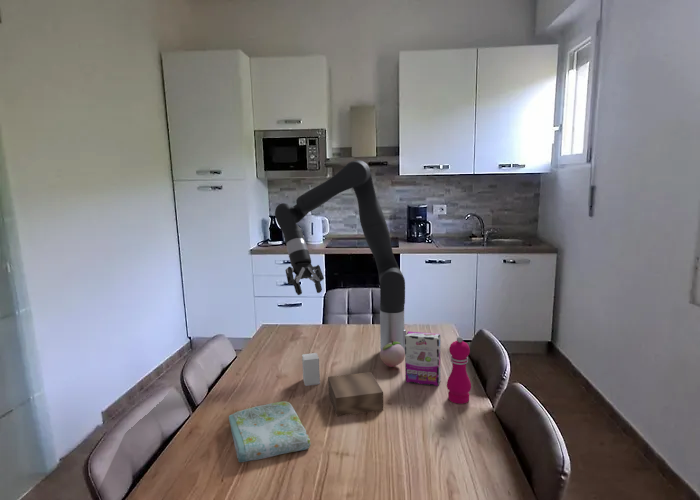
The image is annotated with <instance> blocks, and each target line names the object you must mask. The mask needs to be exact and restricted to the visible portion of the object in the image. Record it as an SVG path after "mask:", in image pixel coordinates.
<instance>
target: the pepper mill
mask: <svg viewBox="0 0 700 500" xmlns="http://www.w3.org/2000/svg"><path fill="white" fill-rule="evenodd" d="M448 350H449V353H450V355H451V356H450V362H451V363H452V368H451V372H450V373H449V375H448V378H447V381H446V387H447V390H448V393H447V395H448V396H447V397H448V400H449V401H450V402H452V403H453V404H459V405H461V404H463V405H464V404H467V403H468V402H469V401H470V391H471V390H472V382H471V380H470V377H469V374H468V373H467V364H468V363H469V357H468V356H469V355H470V353H471V349H470V345H469V344H468V343H467V342H465V341H464V339H463V337H462V336H458V337H456V340H455V341H452V342H451V343H450V345H449V349H448Z"/></svg>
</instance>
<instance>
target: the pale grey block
mask: <svg viewBox="0 0 700 500" xmlns="http://www.w3.org/2000/svg"><path fill="white" fill-rule="evenodd" d="M301 357H302V359H301V361H302V362H301V363H302V364H301V365H302V381H303V384H304V386H305V387H308V386H316V385H320V384H321V376H320V375H321V374H320V372H321V371H320V357H319V355H318V352H313V353H312V352H311V353H304V354H301Z"/></svg>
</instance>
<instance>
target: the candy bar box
mask: <svg viewBox="0 0 700 500" xmlns="http://www.w3.org/2000/svg"><path fill="white" fill-rule="evenodd" d="M441 338H442V337H441V333H436V332H435V333H433V332H419V331H406V335H405V357H404V360H405V363H404V364H405V374H404V375H405V376H404V377H405V383H409V384H415V385H424V386H435V387H439V385H440V382H441V377H442V375H441V373H442V372H441V365H442V364H441V350H442V349H441V347H442V345H441Z"/></svg>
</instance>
